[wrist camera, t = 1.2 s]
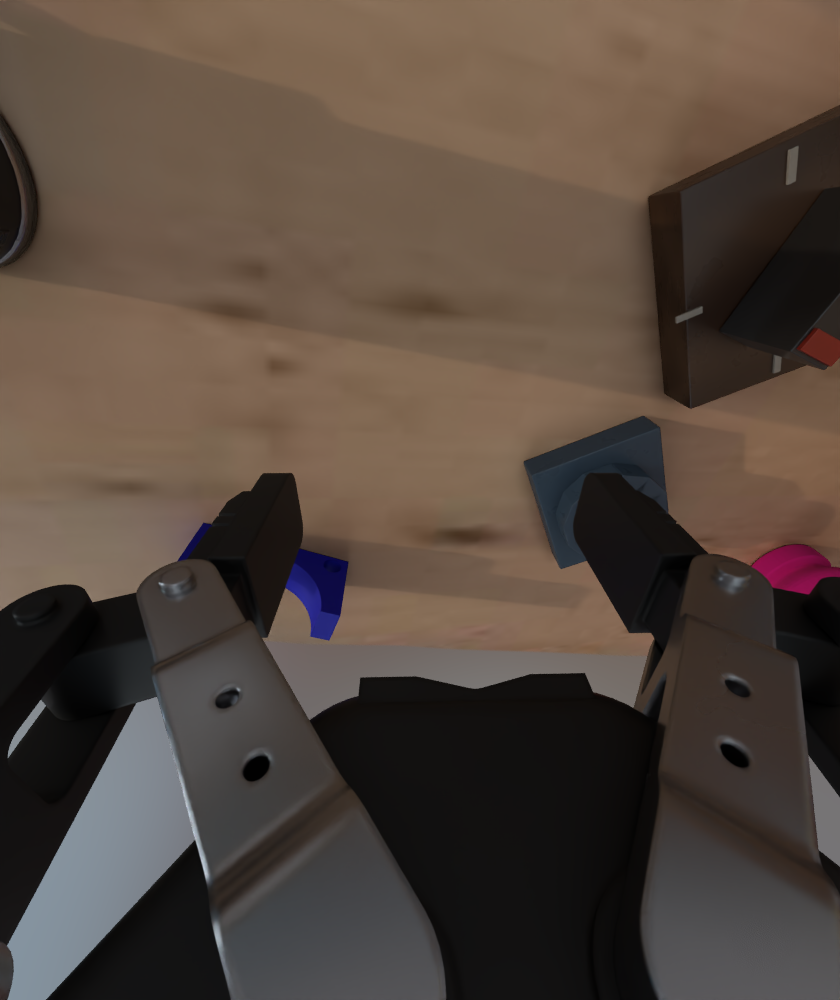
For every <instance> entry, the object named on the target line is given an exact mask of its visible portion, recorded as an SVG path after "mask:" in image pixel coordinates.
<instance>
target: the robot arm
mask: <svg viewBox="0 0 840 1000" xmlns="http://www.w3.org/2000/svg"><path fill="white" fill-rule="evenodd" d="M36 223H37V201H36V194H35V189H34V184H33V180H32V177H31V174H30V170H29V168H28V165H27V162H26V160H25V157H24V155H23V153H22V151H21V149H20V146H19V144H18V143H17V141H16V139H15V137H14V135H13V133H12V132H11V130H10V128H9V127H8V125H7V123H6V122H5V120H4V119H3V117H2V116H1V114H0V268H1V267H4V266H7V265H9V264H11V263H12V262H14V261H16V260H17V259H18V258H20V257H21V256H22V254H23V253H24V252H25V251H26V250H27V248H28V247H29V245H30V243H31V241H32V239H33V236H34V233H35V228H36ZM573 533H574V538H575V541H576V543H577V544H578V546H579V548H580V550H581V551H582V553H583V555H584V556H585V558H586V560H587V562H588V563H589V565H590V567H591V568H592V570H593V572H594V573H595V575H596V577H597V579H598V580H599V582H600V584H601V585H602V587H603V589H604V591H605V592H606V594H607V596H608V597H609V599H610V601H611V602H612V604H613V606H614V608H615V609H616V611H617V613H618V614H619V616H620V618H621V620H622V621H623V623H624V625H625V626H626V628H627V630H628V631H629V633H652V635H653V636H654V640H653V642H652V644H651V646H650V649H649V652H648V656H647V660H646V664H645V667H644V671H643V675H642V679H641V682H640V686H639V690H638V694H637V697H636V701H635V705H634V708H632V707H630V706H629V705H627V704H625V703H622V702H620V701H617V700H615V699H613V698H610V697H607V696H604V695H601V694H598V693H594V692H593V691H592V689H591V686H590V684H589V682H588V679H587V677H586V675H585V673H574V674H573V673H571V674H530V675H526V676H523V677H519V678H516V679H512V680H508V681H505V682H502V683H498V684H495V685H491V686H487V687H484V688H479V689H471V688H466V687H461V686H457V685H453V684H448V683H443V682H439V681H434V680H430V679H425V678H421V677H368V678H367V677H366V678H360V687H359V696H357V697H353V698H350V699H347V700H345V701H342V702H340V703H337V704H335V705H333V706H331V707H330V708H328V709H326V710H324V711H322V712H321V713H319V714H318V715H316V716H315V717H313V718H312V719H311V720H309V719H308V717H307V716H306V714H305V712H304V710H303V709H302V707H301V705H300V704H299V702H298V700H297V698H296V697H295V695H294V693H293V691H292V689H291V688H290V686H289V684H288V682H287V681H286V679H285V677H284V675H283V674H282V672H281V670H280V669H279V667H278V665H277V663H276V662H275V660H274V658H273V656H272V655H271V653H270V651H269V649H268V648H267V646H266V644H265V642H264V641H263V639H262V638H267V637H268V634H269V632H270V629H271V626H272V623H273V621H274V618H275V615H276V612H277V609H278V607H279V604H280V601H281V598H282V595H283V593H284V590H285V587H286V584H287V581H288V579H289V576H290V573H291V570H292V568H293V565H294V562H295V559H296V556H297V554H298V551H299V548H300V545H301V542H302V536H303V522H302V516H301V510H300V504H299V499H298V493H297V487H296V482H295V478H294V476H293V474H292V473H263V474H262V475H261V476H260V478H259V479H258V481H257V482H256V484H255V485H254V487H253V489H252V490H251V491H243V492H241V493H240V494H238V495H237V496H235V497H234V498H232V499H231V500H229V501H228V502H227V503H226V505H225V506H224V508H223V509H222V510H221V512H220V513H219V516H217V517H216V519H215V520H214V522H213V523H212V527H209V529H208V530H207V531H206V533H205V534H204V536H203V537H202V538H201V540H200V541H199V543H198V544H197V545H196V547H195V548H194V550H193V551H192V552H191V554H190V555H189V557H188V558H187V559H186V560H182V561H177V562H174V563H171V564H168V565H166V566H164V567H162V568H160V569H158V570H156V571H155V572H153V573H152V574H150V575H149V576H148V577H147V578H146V579H145V580H144V581H143V582H142V583H141V584H140V586H139V588H138V590H137V592H136V593H132V594H128V595H123V596H119V597H114V598H110V599H106V600H101V601H97V602H92V601H91V599H90V597H89V596H88V594H87V592H86V591H85V589H83V588H82V587H80V586H77V585H57V586H52V587H47V588H44V589H41V590H38V591H35V592H32V593H30V594H28V595H25V596H23V597H21V598H20V599H18V600H16V601H14V602H13V603H11V604H9V605H8V606H6V607H5V608H4V609H2V610H1V611H0V1000H7V999H8V996H9V992H10V989H11V985H12V980H13V972H14V969H13V968H14V967H13V958H12V955H11V951H10V950H9V948H8V947H7V944H8V943H9V941H10V939H11V937H12V935H13V933H14V931H15V929H16V927H17V926H18V923H19V922H20V920H21V918H22V916H23V914H24V913H25V910H26V909H27V907H28V905H29V903H30V901H31V899H32V898H33V896H34V894H35V892H36V890H37V888H38V886H39V884H40V883H41V881H42V879H43V877H44V875H45V873H46V871H47V869H48V868H49V866H50V864H51V862H52V860H53V858H54V856H55V854H56V852H57V851H58V849H59V847H60V845H61V843H62V841H63V839H64V838H65V836H66V834H67V832H68V830H69V828H70V826H71V824H72V823H73V821H74V819H75V817H76V815H77V813H78V811H79V809H80V808H81V806H82V804H83V802H84V800H85V798H86V796H87V794H88V793H89V791H90V789H91V787H92V785H93V783H94V781H95V779H96V778H97V776H98V774H99V772H100V770H101V768H102V766H103V764H104V763H105V761H106V758H107V757H108V755H109V753H110V751H111V749H112V747H113V746H114V744H115V742H116V740H117V738H118V736H119V734H120V732H121V730H122V729H123V727H124V725H125V723H126V721H127V719H128V717H129V715H130V714H131V712H132V710H133V708H134V706H135V704H136V703H137V702H141V701H144V700H147V699H151V698H154V697H157V698H158V701H159V705H160V709H161V713H162V716H163V720H164V724H165V728H166V731H167V735H168V739H169V743H170V746H171V750H172V754H173V758H174V761H175V765H176V769H177V772H178V776H179V780H180V784H181V788H182V791H183V795H184V799H185V802H186V806H187V810H188V814H189V818H190V821H191V825H192V829H193V832H194V836H195V841H194V842H193V843H192V844H191V845H190V846H189V847H188V848H187V849H186V850H185V851H184V852H183V853H182V855H180V857H179V858H178V859H177V860H176V861H175V862H174V863H173V864H172V865H171V866H170V867H169V868H168V869H167V871H166V872H165V873H164V874H163V875H162V876H161V877H160V878H159V879H158V880H157V881H156V882H155V884H153V886H152V887H151V888H150V889H149V890H148V891H147V892H146V893H145V894H144V895H143V896H142V897H141V898H140V899H139V901H138V902H137V903H136V904H135V905H134V906H133V907H132V908H131V909H130V910H129V911H128V912H127V913H126V915H125V916H124V917H123V918H122V919H121V920H120V921H119V922H118V923H117V924H116V925H115V926H114V927H113V929H112V930H111V931H110V932H109V933H108V934H107V935H106V936H105V937H104V938H103V939H102V940H101V941H100V942H99V943H98V945H97V946H96V947H95V948H94V949H93V950H92V951H91V952H90V953H89V954H88V955H87V956H86V957H85V959H84V960H83V961H82V962H81V963H80V964H79V965H78V966H77V967H76V968H75V969H74V970H73V972H71V974H70V975H69V976H68V977H67V978H66V979H65V980H64V981H63V982H62V983H61V984H60V985H59V986H58V987H57V989H56V990H55V991H54V992H53V993H52V994H51V995H50V996H49V997H48V998H47V999H46V1000H840V867H839V866H838V865H837V864H836V863H834V862H833V861H832V860H830V859H829V858H828V857H827V856H825V855H824V854H823V853H821V852H820V851H819V850H818V841H817V833H816V822H815V813H814V804H813V795H812V786H811V777H810V768H809V758H808V755H809V756H810V758H811V759H812V760H813V762H814V763H815V764H816V766H817V767H818V769H819V770H820V771H821V773H822V774H823V775H824V777H825V778H826V779H827V781H828V782H829V783H830V785H831V786H832V787H833V789H834V790H835V791H836V793H837V794H838V795H839V797H840V577H825V578H822V579H820V580H819V581H818V583H817V584H816V585H815V587H814V588H813V590H812V591H811V592H810V594H804V593H798V592H793V591H788V590H783V589H778V588H773V587H772V585H771V583H770V582H769V581H768V579H767V578H766V577H765V576H764V575H763V574H761V573H760V572H759V571H757V570H756V569H754V568H753V567H751V566H749V565H747V564H746V563H743V562H741V561H739V560H736V559H733V558H730V557H727V556H723V555H717V554H708V553H707V552H706V551H705V550H704V549H703V548H702V547H701V546H700V545H699V544H698V543H697V542H696V541H695V540H694V539H693V538H692V537H691V536H690V535H689V534H688V533H687V532H686V531H685V530H684V529H683V528H682V527H681V526H680V525H679V524H676V521H675V520H674V519H673V518H672V517H671V516H670V515H669V514H666V511H665V510H664V509H663V508H662V507H661V506H660V505H659V504H658V503H657V502H656V501H655V500H654V499H652V498H650V497H648V496H647V495H645V494H643V493H641V492H640V491H638V490H635V489H634V488H633V487H632V486H631V485H630V484H629V483H628V482H627V481H626V480H625V479H624V478H623V477H622V475H620V474H619V473H589V474H587V476H586V477H585V479H584V482H583V486H582V490H581V494H580V497H579V501H578V505H577V509H576V513H575V517H574V521H573ZM40 700H42V701H43V702H44V703H45V705H46V707H45V708H44V710H43V711H42V712H41V714H40V715H39V716H38V718H37V719H36V720H35V722H34V723H33V725H32V726H31V727H30V729H29V730H28V732H27V733H26V734H25V736H24V737H23V738H22V740H21V741H20V742H19V744H18V745H17V747H16V748H15V750H14V751H13V752H12V754H11V755H10V756H9V758H8V750H9V746H10V744H11V741H12V739H13V737H14V735H15V734H16V732H17V731H18V729H19V728H20V727H21V725H22V724H23V723H24V721H25V720H26V719H27V717H28V716H29V715H30V713H31V712H32V710H33V709H34V708H35V706H36V705H37V704H38V703H39V701H40Z"/></svg>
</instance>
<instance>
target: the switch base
mask: <svg viewBox="0 0 840 1000" xmlns="http://www.w3.org/2000/svg"><path fill="white" fill-rule="evenodd" d="M834 187H840V105H839V106H837V107H835V108H833V109H830V110H828V111H826V112H824V113H822V114H820V115H818V116H816V117H814V118H812V119H809V120H807V121H805V122H803V123H801V124H799V125H797V126H795V127H793V128H791V129H789V130H786V131H784V132H782V133H780V134H778V135H776V136H774V137H772V138H770V139H768V140H765V141H763V142H761V143H759V144H757V145H755V146H753V147H751V148H749V149H747V150H744V151H742V152H740V153H738V154H736V155H734V156H732V157H730V158H728V159H726V160H724V161H721V162H719V163H717V164H715V165H713V166H711V167H709V168H707V169H705V170H703V171H700V172H698V173H696V174H694V175H692V176H690V177H688V178H686V179H684V180H682V181H679V182H677V183H675V184H673V185H671V186H669V187H667V188H665V189H663V190H661V191H659V192H656V193H654V194H652V195H650V196H649V198H648V199H649V211H650V223H651V235H652V247H653V259H654V271H655V283H656V295H657V307H658V319H659V332H660V344H661V356H662V368H663V380H664V392H665V394H666V395H667V396H669V397H671V398H673V399H674V400H676V401H678V402H679V403H681V404H683V405H685V406H686V407H688V408H690V409H692V408H694V407H697V406H700V405H702V404H705V403H708V402H710V401H713V400H715V399H718V398H721V397H723V396H726V395H729V394H731V393H734V392H737V391H739V390H742V389H745V388H747V387H750V386H753V385H755V384H758V383H760V382H763V381H766V380H768V379H771V378H774V377H776V376H779V375H782V374H784V373H787V372H790V371H792V370H795V369H797V368H800V367H803V366H805V365H806V364H802V363H799V362H796V361H793V360H789V359H786V358H783V357H780V356H776V355H773V354H770V353H766V352H763V351H760V350H757V349H753V348H750V347H748V346H746V345H744V344H742V343H740V342H738V341H736V340H734V339H732V338H730V337H729V336H727V335H725V334H723V333H721V332H719V330H720V329H721V328H722V326H723V325H724V324H725V322H726V321H727V320H728V318H729V317H730V316H731V314H732V313H733V312H734V310H735V309H736V307H737V306H738V305H739V303H740V302H741V301H742V299H743V298H744V297H745V295H746V294H747V293H748V291H749V290H750V289H751V287H752V286H753V285H754V283H755V282H756V281H757V279H758V278H759V277H760V275H761V274H762V273H763V271H764V270H765V269H766V267H767V266H768V265H769V263H770V262H771V260H772V259H773V258H774V256H775V255H776V254H777V252H778V251H779V250H780V248H781V247H782V246H783V244H784V243H785V242H786V240H787V239H788V238H789V236H790V235H791V234H792V232H793V231H794V230H795V228H796V227H797V226H798V224H799V223H800V222H801V220H802V219H803V217H804V216H805V215H806V213H807V212H808V211H809V209H810V208H811V207H812V205H813V204H814V203H815V201H816V200H817V199H818V197H819V196H820V195H821V193H822V192H823V191H824V189H826V188H834Z"/></svg>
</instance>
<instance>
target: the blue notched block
mask: <svg viewBox="0 0 840 1000" xmlns="http://www.w3.org/2000/svg"><path fill="white" fill-rule="evenodd" d="M209 527H212V525H210V524H206V523H203V524H202V526H201V527H200V529H199V530H198V532H197V533H196V534H195V536H194V537H193V539H192V540H191V542H190V543H189V545H188V546H187V548H186V549H185V551H184V552H183V553H182V555H181V556H180V558H179V559H178V561H182V560H186V559H187V558H188V557H189V555H190V554H191V552H192V551H193V550H194V548H195V547H196V545H197V544H198V543H199V541H200V540H201V538H202V537H203V536H204V534H205V533H206V531H207V530H208V529H209ZM347 568H348V562H347V561H343V560H339V559H336V558H332V557H328V556H325V555H321V554H317V553H313V552H310V551H306V550H302V549H299V551H298V554H297V556H296V559H295V562H294V565H293V568H292V570H291V573H290V576H289V579H288V581H287V584H286V587H285V588H287V589H288V590H290V591H291V592H292V593H294V594H295V595H296V596H297V597H298V598H299V599H300V600H301V601H302V603H303V604H304V606H305V607H306V609H307V611H308V613H309V616H310V620H311V635H310V636H311V637H315V638H320V639H325V640H330V638H331V635H332V633H333V631H334V629H335V626H336V624H337V622H338V620H339V618H340V614H341V607H342V601H343V594H344V588H345V581H346V574H347Z"/></svg>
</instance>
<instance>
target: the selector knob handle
mask: <svg viewBox="0 0 840 1000" xmlns="http://www.w3.org/2000/svg"><path fill="white" fill-rule="evenodd" d="M719 332H721V333H723V334H725V335H727V336H729V337H730V338H732V339H734V340H736V341H738V342H740V343H742V344H744V345H746V346H748V347H750V348H753V349H757V350H760V351H763V352H766V353H770V354H773V355H776V356H780V357H783V358H786V359H789V360H793V361H796V362H799V363H802V364H806V365H809V366H812V367H815V368H819V369H822V370H825V369H826V368H827V367H828V366H832V365H833V364H834V363H835V362H836V361H837V360H838V359H839V358H840V187H834V188H826V189H824V191H823V192H822V193H821V195H820V196H819V197H818V199H817V200H816V201H815V203H814V204H813V205H812V207H811V208H810V209H809V211H808V212H807V213H806V215H805V216H804V217H803V219H802V220H801V222H800V223H799V224H798V226H797V227H796V228H795V230H794V231H793V232H792V234H791V235H790V236H789V238H788V239H787V240H786V242H785V243H784V244H783V246H782V247H781V248H780V250H779V251H778V252H777V254H776V255H775V256H774V258H773V259H772V260H771V262H770V263H769V265H768V266H767V267H766V269H765V270H764V271H763V273H762V274H761V275H760V277H759V278H758V279H757V281H756V282H755V283H754V285H753V286H752V287H751V289H750V290H749V291H748V293H747V294H746V295H745V297H744V298H743V299H742V301H741V302H740V303H739V305H738V306H737V307H736V309H735V310H734V312H733V313H732V314H731V316H730V317H729V318H728V320H727V321H726V322H725V324H724V325H723V326H722V328H721V329H720V330H719Z"/></svg>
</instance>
